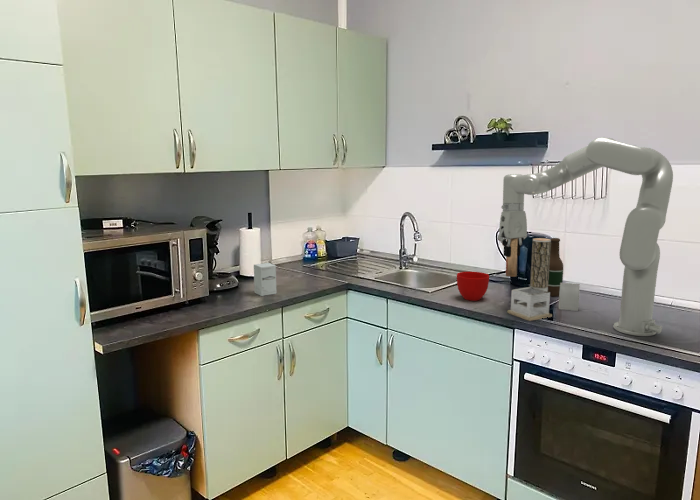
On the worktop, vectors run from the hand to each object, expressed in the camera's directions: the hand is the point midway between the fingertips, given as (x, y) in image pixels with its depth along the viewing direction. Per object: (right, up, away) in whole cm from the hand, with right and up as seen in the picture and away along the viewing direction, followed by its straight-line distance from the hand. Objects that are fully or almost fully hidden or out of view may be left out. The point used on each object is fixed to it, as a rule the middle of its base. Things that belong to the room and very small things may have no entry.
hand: (511, 255), depth 197 cm
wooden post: (0, -8, +1) cm, 8 cm away
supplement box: (-98, -17, +26) cm, 103 cm away
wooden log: (+15, -19, +14) cm, 27 cm away
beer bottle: (+24, -17, +22) cm, 37 cm away
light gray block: (+22, -21, +2) cm, 30 cm away
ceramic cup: (-10, -18, +18) cm, 27 cm away
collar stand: (+5, -22, -6) cm, 23 cm away
